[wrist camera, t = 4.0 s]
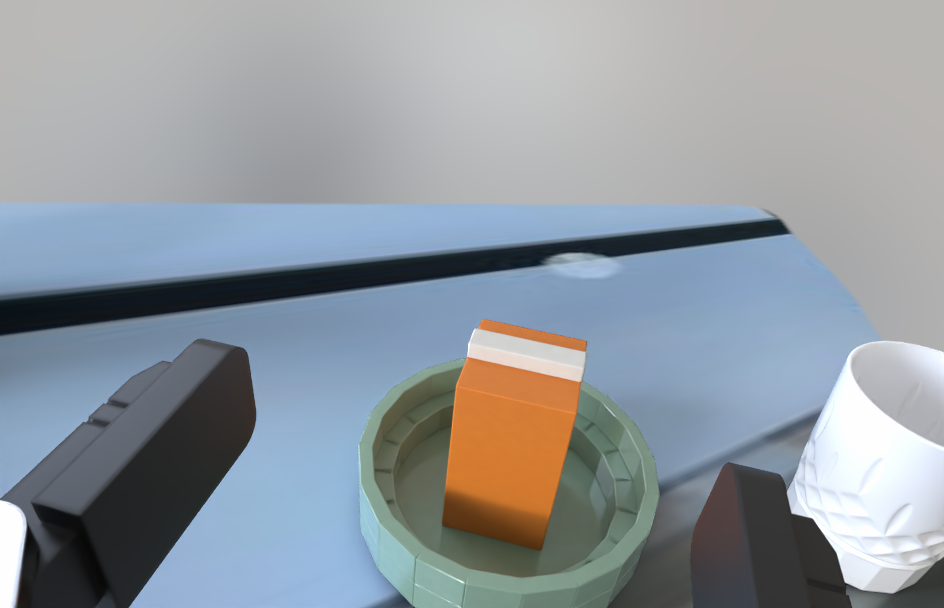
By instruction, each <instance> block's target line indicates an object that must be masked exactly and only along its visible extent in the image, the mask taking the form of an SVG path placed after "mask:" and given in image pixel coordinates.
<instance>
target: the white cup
mask: <svg viewBox="0 0 944 608" xmlns="http://www.w3.org/2000/svg"><path fill="white" fill-rule="evenodd" d="M787 496H788V500H789V504H790V509H791V513H792V514H796V515H801V516H805V517H809V518H813V519H814V521H815V522H816V524H817V525H818V527H819V528H820V529H821V531H822V532H823V534H824V535H825V537H826V538H827V540H828V541H829V543H830V544H831V545H832V547H833V548H834V550H835V551H836V553H837V556H838V560H839V563H840V567H841V570H842V574H843V578H844V581H845V583H847V584H849V585H852V586H854V587H856V588H858V589H860V590H865V591H874V592H883V593H895V592H898V591H900V590H902V589H904V588H906V587H909V586H911V585H913V584H915V583H916V582H917V581H918V580H919V579H920V578H921V577H922V576H923V575H924V574H925V573H926V572H927V571H928V570H929V569H930V568H931V567H932V566H933V565H934V564H935V563H936V562H937V561H939V560H940V559H942V558H943V557H944V352H942V351H939V350H936V349H933V348H929V347H925V346H921V345H917V344H912V343H906V342H899V341H875V342H869V343H866V344H863V345H860V346H858V347H857V348H855V349H854V350H853V351H852V352H851V353H850V354H849V356H848V358H847V360H846V362H845V365H844V367H843V369H842V371H841V373H840V375H839V377H838V379H837V381H836V383H835V386H834V388H833V390H832V392H831V394H830V396H829V398H828V400H827V402H826V404H825V406H824V408H823V410H822V412H821V414H820V416H819V418H818V420H817V422H816V425H815V427H814V429H813V431H812V433H811V435H810V437H809V439H808V442H807V444H806V447H805V449H804V451H803V454H802V457H801V458H800V460H799V466H798V470H797V472H796V474H795V476H794V479H793V481H792V483H791V485H790V487H789V489H788V491H787Z"/></svg>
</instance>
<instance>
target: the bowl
mask: <svg viewBox="0 0 944 608" xmlns="http://www.w3.org/2000/svg"><path fill="white" fill-rule="evenodd" d="M466 359H467V358H462V359H458V360H454V361H450V362H447V363H443V364H440V365H436V366H432V367H429V368H426V369H424V370H422V371H420V372H418V373H417V374H415V375H413V376H412V377H410V378H408V379H406V380H405V381H403V382H401V383H400V384H398V385H396V386H395V387H393V388H392V389H391V390H390V391H389V393H388V394H387V395H386V396H385V397H384V398H383V399H382V400H381V402H380V403H379V404H378V405H377V406H376V407H375V408H374V409H373V410H372V412H371V413H370V415H369V418H368V421H367V423H366V426H365V429H364V431H363V434H362V437H361V439H360V442H359V445H358V475H359V508H360V529H361V532H362V535H363V537H364V539H365V541H366V544H367V546H368V548H369V550H370V552H371V555H372V557H373V559H374V561H375V564H376V566H377V568H378V569H379V571H380V572H381V573H382V574H383V576H384V577H385V578H386V579H387V580H388V581H389V582H390V583H391V584H392V585H393V586H394V587H395V588H396V589H397V590H398V591H399V592H400V593H401V594H402V595H403V596H404V597H405V598H406V599H407V600H408V601H409V603H410V604H412V605H413V606H414V607H416V608H607V607H608V605H609V604H610V603H611V602H612V601H613V599H614V598H615V597H616V596H617V594H618V593H619V592H620V591H621V590H622V588H623V587H624V586H625V585H626V583H627V582H628V581H629V580H630V579H631V577H632V575H633V573H634V570H635V568H636V565H637V563H638V561H639V558H640V556H641V553H642V551H643V548H644V546H645V543H646V541H647V539H648V536H649V534H650V531H651V527H652V524H653V520H654V517H655V513H656V509H657V506H658V502H659V498H660V492H659V485H658V478H657V472H656V465H655V459H654V456H653V455H652V453H651V451H650V449H649V447H648V445H647V443H646V442H645V440H644V438H643V436H642V434H641V432H640V431H639V429H638V427H637V426H636V424H635V423H634V422H633V421H632V420H631V419H630V418H629V417H628V416H627V415H626V414H625V413H624V412H623V411H622V410H621V409H620V408H619V407H618V406H617V405H616V404H615V403H614V402H613V401H612V400H611V399H610V398H609V397H608V396H607V395H605V394H604V393H602V392H600V391H599V390H597V389H596V388H594V387H592V386H591V385H589V384H588V383H586V382H584V381H583V380H582V382H581V389H580V396H579V404H578V411H577V416H576V420H575V424H574V428H573V432H572V436H571V439H570V443H569V447H568V451H567V455H566V459H565V463H564V466H563V470H562V474H561V478H560V482H559V486H558V490H557V493H556V497H555V501H554V505H553V509H552V513H551V517H550V520H549V524H548V528H547V532H546V536H545V540H544V544H543V547H542V550H541V551H539V550H535V549H531V548H527V547H523V546H520V545H516V544H512V543H508V542H505V541H501V540H497V539H493V538H489V537H486V536H482V535H478V534H474V533H470V532H467V531H463V530H459V529H455V528H452V527H448V526H444V525H442V516H443V507H444V497H445V487H446V478H447V468H448V458H449V449H450V439H451V429H452V420H453V410H454V400H455V391H456V385H457V382H458V380H459V377H460V375H461V372H462V369H463V367H464V364H465V362H466Z"/></svg>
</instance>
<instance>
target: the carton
mask: <svg viewBox="0 0 944 608" xmlns="http://www.w3.org/2000/svg"><path fill="white" fill-rule="evenodd" d="M586 346H587V341H584V340H579V339H575V338H570V337H565V336H561V335H556V334H551V333H547V332H542V331H537V330H533V329H528V328H523V327H519V326H514V325H509V324H505V323H500V322H495V321H491V320H486V319H482V321H481V323H480V326H479V329H477V328H475V329H474V331H473V334H472V336H471V339H470V341H469V345H468V353H467V356H468V357H467V359H466V362H465V364H464V367H463V369H462V372H461V375H460V377H459V380H458V382H457V385H456V391H455V400H454V410H453V420H452V429H451V439H450V449H449V458H448V468H447V478H446V487H445V497H444V507H443V516H442V525H444V526H448V527H452V528H455V529H459V530H463V531H467V532H470V533H474V534H478V535H482V536H486V537H489V538H493V539H497V540H501V541H505V542H508V543H512V544H516V545H520V546H523V547H527V548H531V549H535V550H539V551H541V550H542V547H543V544H544V540H545V536H546V532H547V528H548V524H549V520H550V517H551V513H552V509H553V505H554V501H555V497H556V493H557V490H558V486H559V482H560V478H561V474H562V470H563V466H564V463H565V459H566V455H567V451H568V447H569V443H570V439H571V436H572V432H573V428H574V424H575V420H576V416H577V411H578V404H579V396H580V389H581V382H582V379H583V375H584V371H585V365H586V358H587V353H586Z"/></svg>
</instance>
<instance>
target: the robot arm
mask: <svg viewBox="0 0 944 608" xmlns="http://www.w3.org/2000/svg"><path fill="white" fill-rule="evenodd" d="M255 422H256V407H255V400H254V393H253V386H252V379H251V372H250V365H249V358H248V354H247V352H246V351H245V349H243V348H241V347H237V346H233V345H228V344H224V343H220V342H215V341H211V340H207V339H197V340H195V341H194V342H192V343H191V344H190V345H189V346H188V347H187V348H186V349H185V350H184V351H183V352H182V353H181V354H180V355H179V356H178V357H177V358H176V359H175V360H174V361H173V362H172V363H171V362H167V361H161V362H159V363H157V364H156V365H154V366H152V367H150V368H148V369H146V370H144V371H142V372H140V373H138V374H137V375H135V376H133V377H131V378H130V379H129V380H128V381H127V382H126V383H125V384H124V385H123V386H122V387H120V388H119V389H118V390H117V391H116V392H115V393H114V394H113V395H112V396H111V397H110V398H109V399H108V402H107V404H104V403H103V404H102V405H101V406H100V407H99V408H98V409H97V410H96V411H95V412H94V413H93V414H92V415H90V416H89V419H88V421H87V422H86V423H85V422H83V423H82V424H81V425H80V426H79V427H78V428H76V429H75V430H74V431H73V432H72V433H71V434H70V435H69V436H68V437H67V438H66V439H65V440H64V441H63V442H61V443H60V444H59V445H58V446H57V447H56V448H55V449H54V450H53V451H52V452H51V453H50V454H49V455H48V456H46V457H45V458H44V459H43V460H42V461H41V462H40V463H39V464H38V465H37V466H36V467H35V468H34V469H33V470H31V471H30V472H29V473H28V474H27V475H26V476H25V477H24V478H23V479H22V480H21V481H20V482H19V483H18V484H16V485H15V486H14V487H13V488H12V489H11V490H10V491H9V492H8V493H6V494H5V495H4V496H3V497H2V498H0V608H129V606H130V605H131V604H132V602H133V601H134V600H135V598H136V597H137V595H138V594H139V593H140V591H141V590H142V589H143V587H144V586H145V585H146V583H147V582H148V580H149V579H150V578H151V576H152V575H153V574H154V572H155V571H156V569H157V568H158V567H159V565H160V564H161V563H162V561H163V560H164V559H165V557H166V556H167V554H168V553H169V552H170V550H171V549H172V548H173V546H174V545H175V543H176V542H177V541H178V539H179V538H180V537H181V535H182V534H183V532H184V531H185V530H186V528H187V527H188V526H189V524H190V523H191V522H192V520H193V519H194V517H195V516H196V515H197V513H198V512H199V511H200V509H201V508H202V506H203V505H204V504H205V502H206V501H207V500H208V498H209V497H210V496H211V494H212V493H213V491H214V490H215V489H216V487H217V486H218V485H219V483H220V482H221V480H222V479H223V478H224V476H225V475H226V474H227V472H228V471H229V469H230V468H231V467H232V465H233V464H234V463H235V461H236V460H237V459H238V457H239V456H240V454H241V453H242V452H243V450H244V449H245V447H246V446H247V444H248V442H249V441H250V438H251V436H252V433H253V430H254V427H255ZM690 561H691V580H692V596H693V608H852V606H851V602H850V599H849V596H848V595H846V589H847V588H846V585H845V581H844V578H843V574H842V570H841V567H840V563H839V560H838V556H837V553H836V551H835V550H834V548H833V547H832V545H831V544H830V543H829V541H828V540H827V538H826V537H825V535H824V534H823V532H822V531H821V529H820V528H819V527H818V525H817V524H816V522H815V521H814V519H813V518H809V517H805V516H801V515H796V514H792V513H791V509H790V504H789V500H788V496H787V491H786V487H785V483H784V480H783V478H782V477H781V475H779V474H777V473H772V472H768V471H764V470H759V469H755V468H751V467H747V466H742V465H738V464H734V463H729V462H728V463H726V464H725V465H724V466H723V468H722V470H721V472H720V474H719V476H718V478H717V480H716V482H715V485H714V487H713V489H712V491H711V493H710V495H709V497H708V500H707V502H706V504H705V506H704V508H703V510H702V512H701V515H700V517H699V519H698V521H697V524H696V526H695V530H694V534H693V538H692V545H691V559H690Z"/></svg>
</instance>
